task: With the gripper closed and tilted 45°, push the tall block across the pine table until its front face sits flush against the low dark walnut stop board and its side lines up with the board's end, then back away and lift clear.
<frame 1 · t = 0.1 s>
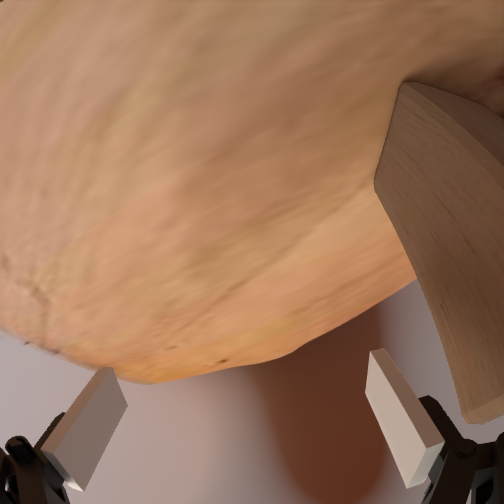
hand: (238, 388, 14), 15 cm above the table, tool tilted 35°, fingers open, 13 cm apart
block: (430, 141, 20), on the table
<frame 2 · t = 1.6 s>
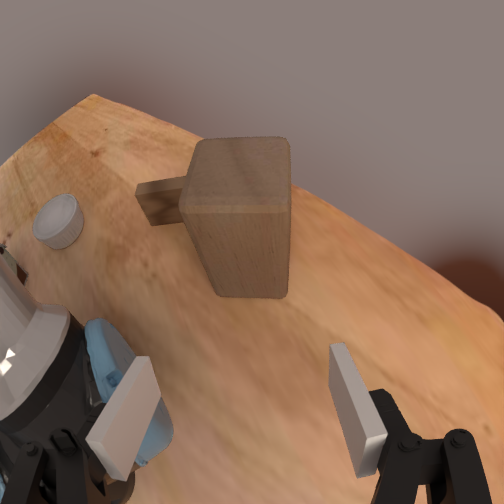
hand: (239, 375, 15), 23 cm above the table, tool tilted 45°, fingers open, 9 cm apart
block: (253, 269, 44), on the table
food container: (14, 295, 45), on the table
ramekin: (67, 231, 52), on the table
stop board: (213, 212, 50), on the table
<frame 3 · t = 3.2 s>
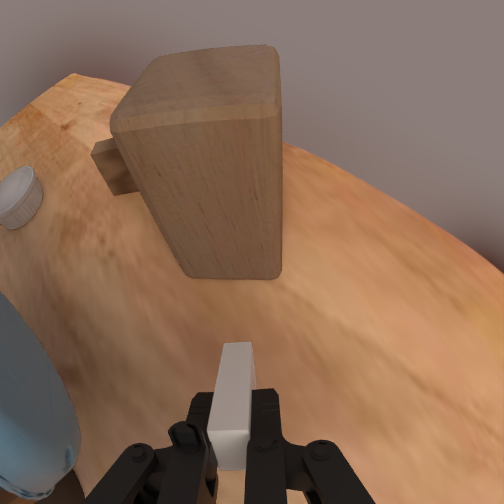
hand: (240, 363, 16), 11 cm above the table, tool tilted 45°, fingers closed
block: (236, 242, 33), on the table
ramekin: (25, 209, 41), on the table
stop board: (188, 176, 39), on the table
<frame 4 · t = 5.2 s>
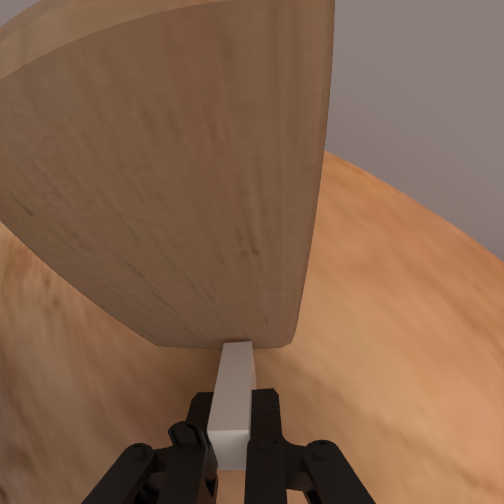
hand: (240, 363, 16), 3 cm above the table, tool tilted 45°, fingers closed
block: (222, 285, 22), on the table, touching gripper
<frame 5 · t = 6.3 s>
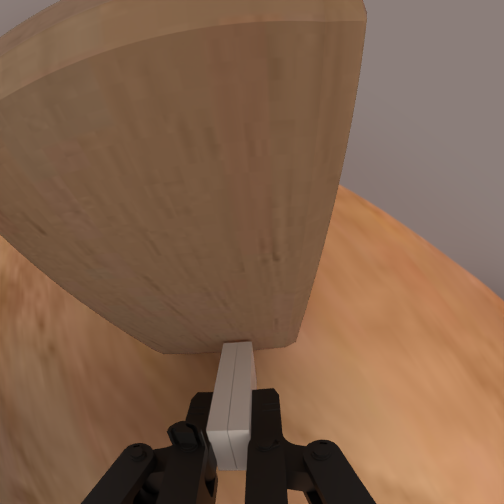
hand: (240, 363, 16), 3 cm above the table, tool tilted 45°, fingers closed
block: (222, 288, 22), on the table, touching gripper, stop board
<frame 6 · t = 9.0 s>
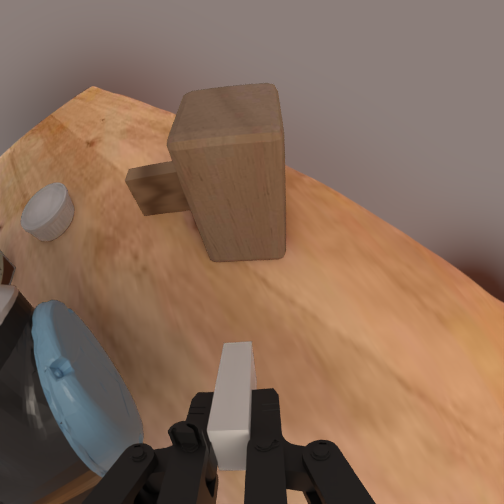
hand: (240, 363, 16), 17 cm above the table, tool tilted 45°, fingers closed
block: (247, 233, 42), on the table
food container: (1, 290, 41), on the table
ramekin: (56, 222, 48), on the table
stop board: (211, 201, 46), on the table
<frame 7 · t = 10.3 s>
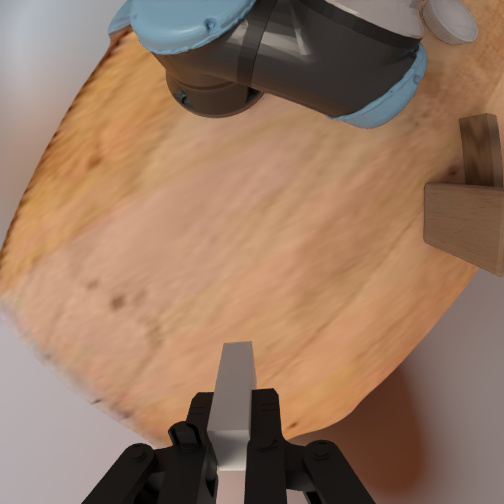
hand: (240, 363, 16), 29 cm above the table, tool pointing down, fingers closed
block: (444, 212, 43), on the table
ramekin: (441, 25, 34), on the table
stop board: (470, 181, 41), on the table
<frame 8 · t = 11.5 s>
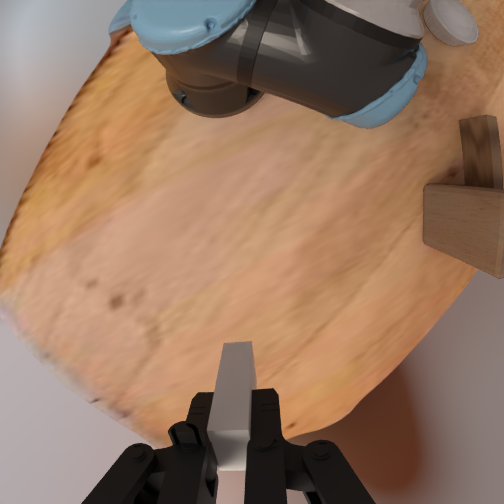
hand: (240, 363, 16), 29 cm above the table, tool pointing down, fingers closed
block: (443, 214, 43), on the table
ramekin: (442, 26, 34), on the table
stop board: (469, 182, 41), on the table
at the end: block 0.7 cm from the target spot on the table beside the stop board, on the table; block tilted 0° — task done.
